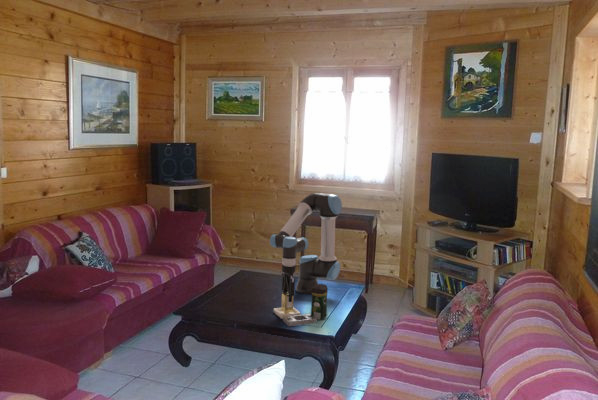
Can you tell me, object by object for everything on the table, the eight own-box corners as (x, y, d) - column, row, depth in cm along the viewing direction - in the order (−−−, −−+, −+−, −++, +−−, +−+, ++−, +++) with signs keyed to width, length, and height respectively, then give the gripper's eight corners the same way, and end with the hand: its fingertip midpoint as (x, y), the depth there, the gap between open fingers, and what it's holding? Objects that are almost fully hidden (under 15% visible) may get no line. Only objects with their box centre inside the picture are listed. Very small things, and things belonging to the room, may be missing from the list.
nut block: (289, 309, 293) (290, 291, 292) (292, 312, 289) (293, 294, 287) (281, 310, 291) (281, 292, 290) (284, 313, 287) (285, 295, 285)
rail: (309, 317, 286) (310, 313, 286) (316, 322, 279) (316, 318, 279) (283, 321, 280) (283, 316, 279) (288, 326, 272) (289, 321, 272)
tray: (292, 310, 298) (292, 306, 298) (300, 316, 287) (300, 312, 287) (273, 312, 293) (273, 308, 293) (281, 319, 283) (281, 315, 282)
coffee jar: (315, 313, 293) (316, 281, 291) (328, 316, 290) (329, 284, 288) (308, 318, 285) (309, 286, 282) (321, 321, 281) (323, 288, 279)
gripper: (276, 261, 293) (275, 301, 296) (289, 269, 277) (287, 311, 280) (288, 260, 296) (287, 299, 299) (301, 268, 280) (300, 310, 283)
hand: (287, 305), depth 290 cm, fingers closed on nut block, 5 cm apart
